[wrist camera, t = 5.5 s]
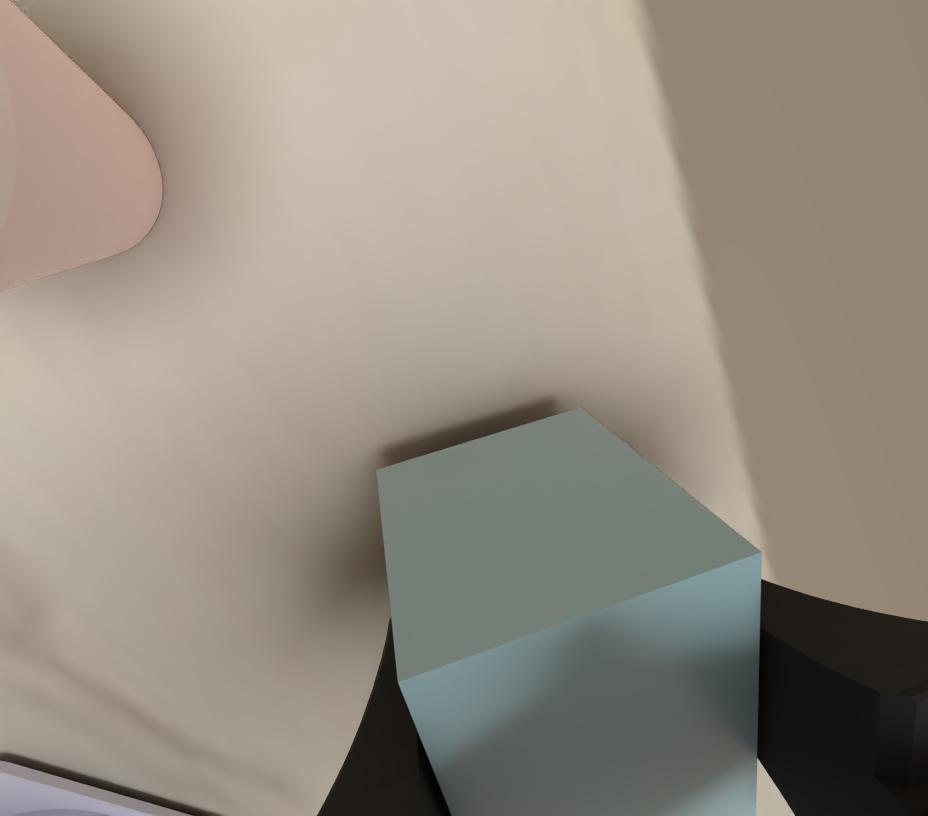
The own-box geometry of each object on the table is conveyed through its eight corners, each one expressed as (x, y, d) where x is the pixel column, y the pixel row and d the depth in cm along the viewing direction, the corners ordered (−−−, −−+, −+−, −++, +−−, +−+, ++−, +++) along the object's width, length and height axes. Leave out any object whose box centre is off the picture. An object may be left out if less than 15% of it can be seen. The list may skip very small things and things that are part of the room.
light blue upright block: (612, 630, 17) (754, 851, 11) (451, 688, 16) (509, 958, 10) (581, 407, 14) (761, 552, 8) (376, 469, 13) (397, 682, 7)
